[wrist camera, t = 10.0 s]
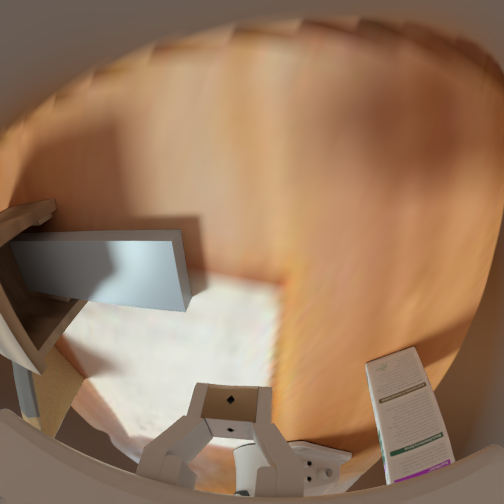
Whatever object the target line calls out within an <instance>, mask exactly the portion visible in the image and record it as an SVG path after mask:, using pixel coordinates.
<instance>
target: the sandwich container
mask: <svg viewBox="0 0 504 504" xmlns="http://www.w3.org/2000/svg"><path fill="white" fill-rule="evenodd" d="M44 361H45V362H46V364H47V365H48V367H47V368H46V370H45V371H44V373H43V374H42V376H41V375H39V374H37V373H35V372H33V371H31V370H29V369H27V368H25V367H23V366H21V365H19V364H17V363H16V362H14V361H12V363H13V369H14V370H13V371H14V377H15V383H16V389H17V393H18V398H19V403H20V408H21V412H22V416H23V420H25V421H26V422H28V423H29V424H31V425H32V426H34V427H35V428H37V429H39V430H40V431H42V432H44V433H45V434H47V435H49V436H50V437H52V438H54V437H55V435H56V433H57V431H58V429H59V427H60V425H61V423H62V421H63V419H64V417H65V415H66V413H67V411H68V409H69V407H70V405H71V403H72V401H73V399H74V398H75V396H76V394H77V392H78V390H79V388H80V386H81V385H82V383H83V381H84V377H83V376H82V375H81V374H80V373H79V372H78V371H77V370H76V369H75V368H74V367H73V366H72V365H71V364H70V363H69V362H68V361H67V360H66V358H65V357H64V356H63V355H62V354H61V353H60V352H59V351H58V349H57V348H56V347H55V346H53V347H52V348H51V350H50V351H49V353H48V354H47V355H46V357H45V358H44Z"/></svg>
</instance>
